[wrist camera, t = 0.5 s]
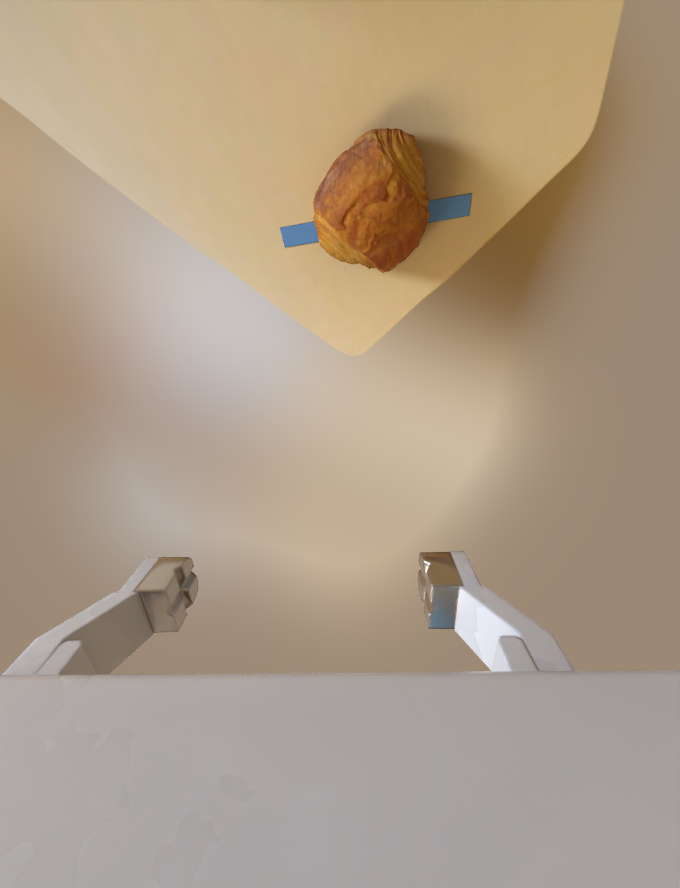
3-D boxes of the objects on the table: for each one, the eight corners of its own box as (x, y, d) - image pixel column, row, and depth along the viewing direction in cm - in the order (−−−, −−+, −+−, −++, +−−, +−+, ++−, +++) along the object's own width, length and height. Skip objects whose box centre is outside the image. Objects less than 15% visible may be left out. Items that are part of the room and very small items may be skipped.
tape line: (280, 227, 48) (280, 227, 48) (471, 193, 45) (471, 193, 45) (284, 247, 49) (284, 247, 49) (469, 215, 46) (469, 215, 46)
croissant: (298, 196, 47) (285, 217, 42) (394, 93, 38) (392, 103, 33) (361, 281, 54) (357, 307, 49) (453, 212, 46) (459, 234, 41)
